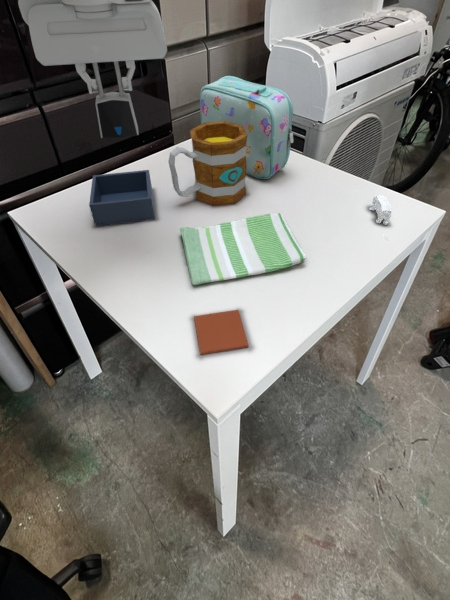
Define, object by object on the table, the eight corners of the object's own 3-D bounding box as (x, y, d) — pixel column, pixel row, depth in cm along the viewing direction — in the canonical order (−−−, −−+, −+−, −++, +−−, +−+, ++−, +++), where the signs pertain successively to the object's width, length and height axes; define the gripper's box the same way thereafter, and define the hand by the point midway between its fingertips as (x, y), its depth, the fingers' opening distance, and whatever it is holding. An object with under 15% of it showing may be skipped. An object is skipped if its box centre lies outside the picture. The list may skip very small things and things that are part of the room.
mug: (228, 174, 101) (227, 116, 91) (257, 196, 93) (260, 135, 83) (163, 194, 95) (154, 135, 84) (187, 220, 87) (181, 158, 76)
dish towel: (179, 233, 83) (178, 223, 81) (279, 219, 86) (280, 208, 84) (192, 288, 71) (191, 277, 69) (308, 268, 74) (310, 258, 72)
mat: (200, 354, 60) (200, 352, 60) (194, 318, 66) (194, 316, 65) (248, 347, 61) (248, 345, 61) (238, 311, 67) (238, 309, 66)
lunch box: (295, 173, 101) (306, 86, 86) (272, 188, 96) (279, 98, 80) (222, 145, 114) (221, 65, 98) (199, 157, 109) (193, 74, 93)
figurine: (377, 226, 84) (383, 208, 81) (367, 206, 89) (372, 189, 86) (388, 225, 84) (394, 208, 81) (377, 206, 89) (383, 188, 86)
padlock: (138, 126, 70) (121, 30, 59) (138, 135, 67) (121, 36, 56) (101, 129, 69) (78, 32, 58) (101, 139, 67) (76, 38, 56)
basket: (95, 226, 86) (89, 205, 81) (98, 195, 95) (92, 175, 91) (155, 219, 87) (151, 198, 83) (152, 189, 96) (148, 169, 92)
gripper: (8, -9, 50) (45, 102, 60) (161, -14, 52) (172, 92, 63) (17, -15, 54) (50, 89, 64) (158, -20, 57) (168, 81, 67)
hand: (111, 91), depth 63 cm, fingers closed on padlock, 4 cm apart
